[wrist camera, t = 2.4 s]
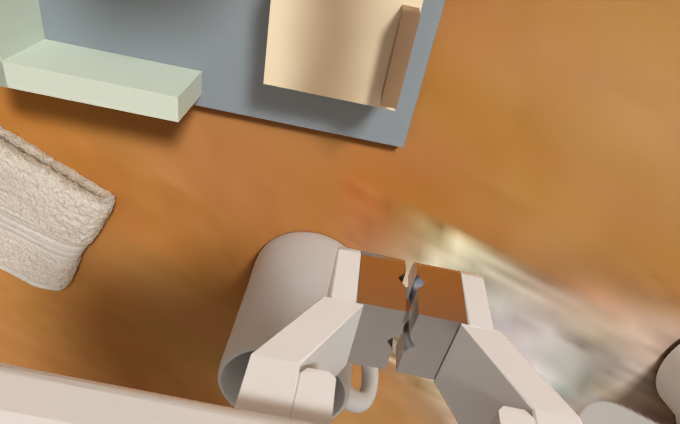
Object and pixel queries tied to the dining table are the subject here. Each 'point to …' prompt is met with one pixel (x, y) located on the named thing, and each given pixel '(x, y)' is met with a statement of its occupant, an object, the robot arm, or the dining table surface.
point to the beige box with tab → (342, 48)
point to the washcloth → (45, 214)
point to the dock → (184, 62)
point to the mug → (288, 312)
